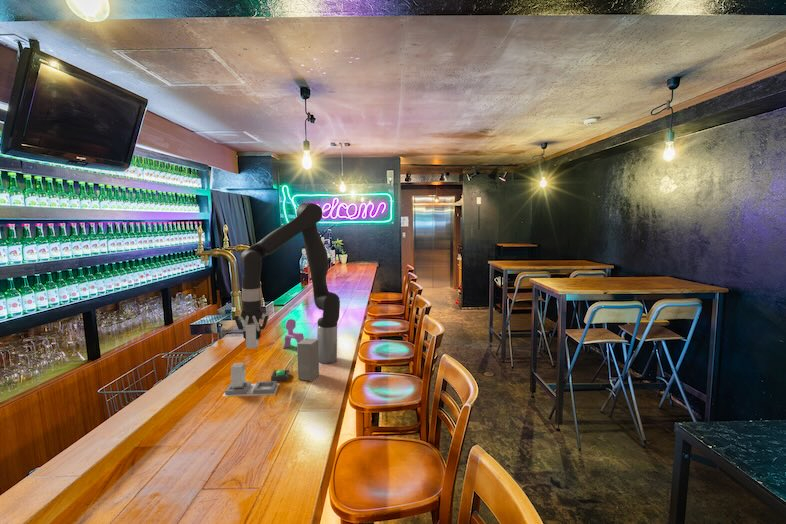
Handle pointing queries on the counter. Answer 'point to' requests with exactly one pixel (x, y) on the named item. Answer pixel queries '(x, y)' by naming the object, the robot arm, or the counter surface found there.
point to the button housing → (280, 376)
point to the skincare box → (308, 359)
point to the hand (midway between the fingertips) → (252, 338)
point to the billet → (251, 336)
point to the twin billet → (238, 376)
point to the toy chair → (292, 333)
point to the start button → (280, 372)
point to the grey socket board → (254, 389)
